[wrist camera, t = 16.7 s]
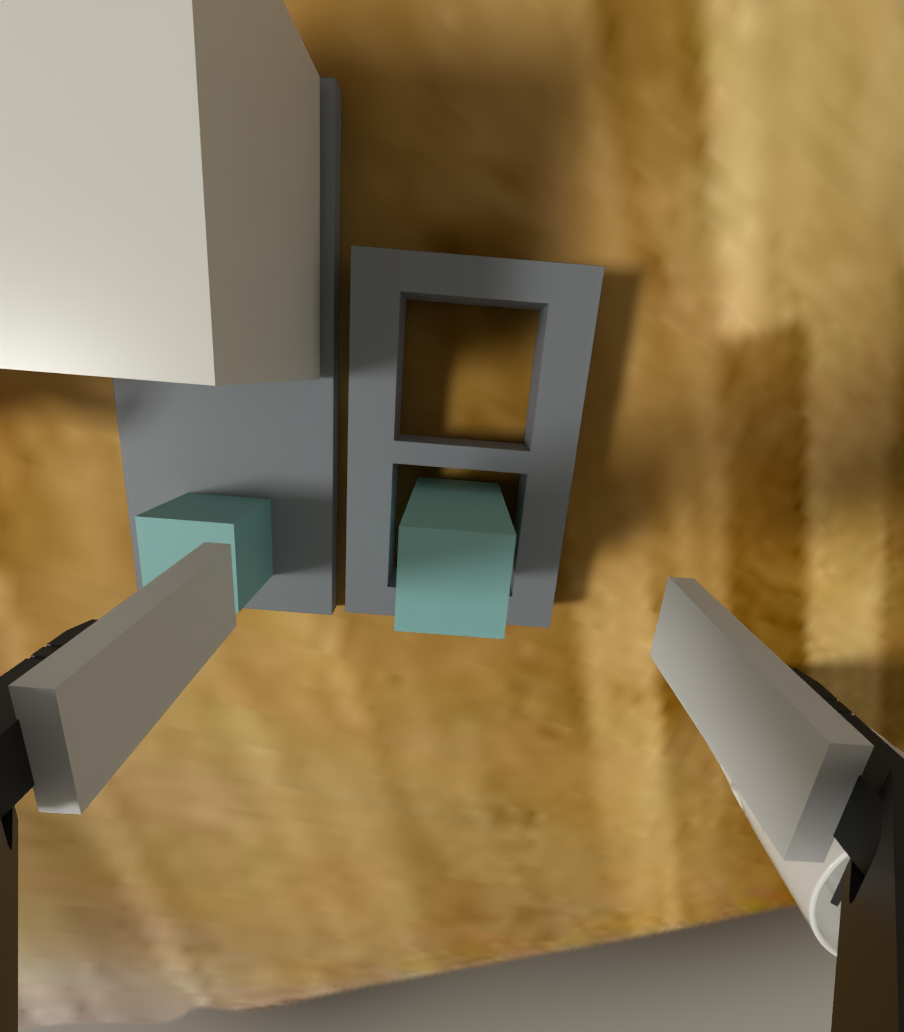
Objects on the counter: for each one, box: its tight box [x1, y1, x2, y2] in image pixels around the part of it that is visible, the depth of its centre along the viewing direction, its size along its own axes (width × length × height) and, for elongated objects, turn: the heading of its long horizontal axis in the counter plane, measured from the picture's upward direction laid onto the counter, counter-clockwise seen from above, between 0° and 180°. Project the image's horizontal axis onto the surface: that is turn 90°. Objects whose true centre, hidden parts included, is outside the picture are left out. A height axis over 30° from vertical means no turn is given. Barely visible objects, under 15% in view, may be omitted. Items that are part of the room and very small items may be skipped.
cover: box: [0, 0, 320, 386], centre depth 15 cm, size 11×9×10 cm
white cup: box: [706, 713, 904, 957], centre depth 23 cm, size 8×8×10 cm
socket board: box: [345, 245, 605, 628], centre depth 23 cm, size 16×10×2 cm, turn 176°
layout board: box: [113, 77, 342, 615], centre depth 20 cm, size 23×10×5 cm, turn 176°
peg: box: [394, 477, 516, 639], centre depth 21 cm, size 4×4×8 cm
